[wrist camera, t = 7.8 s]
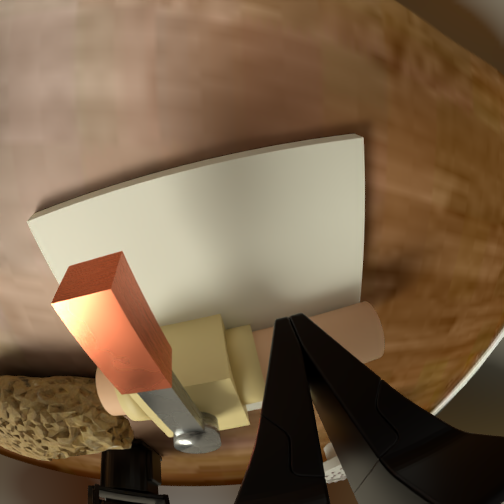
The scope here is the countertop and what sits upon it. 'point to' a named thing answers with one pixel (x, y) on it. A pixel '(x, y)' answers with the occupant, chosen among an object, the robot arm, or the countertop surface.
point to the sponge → (57, 418)
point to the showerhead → (332, 465)
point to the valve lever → (131, 346)
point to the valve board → (230, 262)
